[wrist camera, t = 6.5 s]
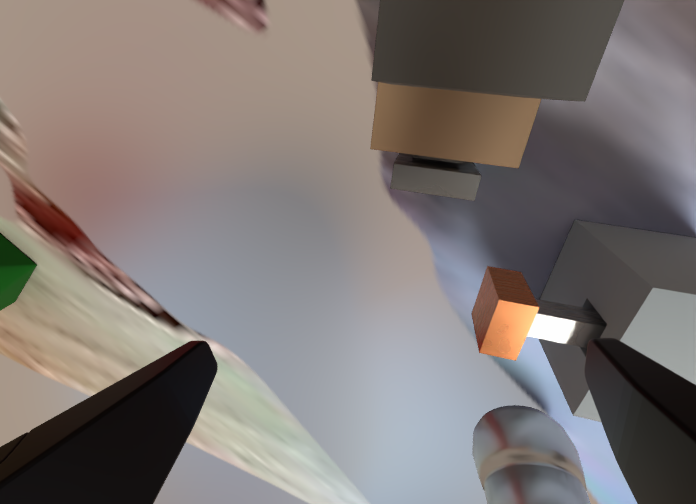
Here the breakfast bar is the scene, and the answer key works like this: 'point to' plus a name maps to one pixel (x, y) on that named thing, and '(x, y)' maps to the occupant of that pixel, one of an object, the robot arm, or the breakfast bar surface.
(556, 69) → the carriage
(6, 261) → the milk carton
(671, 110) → the breakfast bar surface
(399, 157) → the rail
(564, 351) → the block
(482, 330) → the plunger
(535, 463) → the plastic bottle
